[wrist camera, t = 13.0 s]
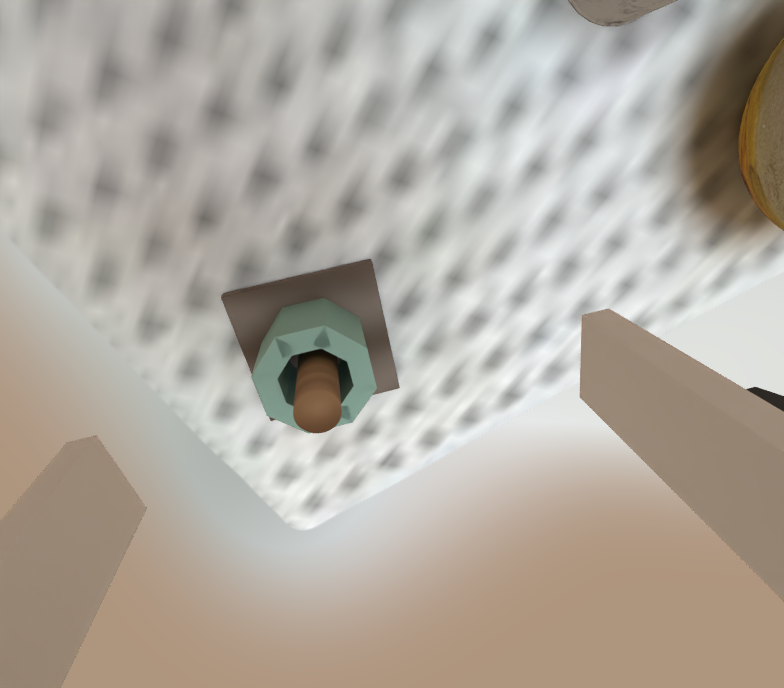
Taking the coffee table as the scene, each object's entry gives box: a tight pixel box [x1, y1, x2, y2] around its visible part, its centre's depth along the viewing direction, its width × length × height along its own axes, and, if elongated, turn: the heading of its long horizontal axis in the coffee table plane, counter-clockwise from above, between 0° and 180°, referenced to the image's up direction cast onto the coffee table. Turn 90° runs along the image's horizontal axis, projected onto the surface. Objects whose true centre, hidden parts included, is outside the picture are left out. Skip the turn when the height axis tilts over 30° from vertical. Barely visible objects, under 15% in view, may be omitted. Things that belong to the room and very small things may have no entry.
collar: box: [251, 298, 377, 433], centre depth 32 cm, size 8×8×6 cm
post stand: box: [221, 259, 400, 433], centre depth 31 cm, size 12×12×11 cm
